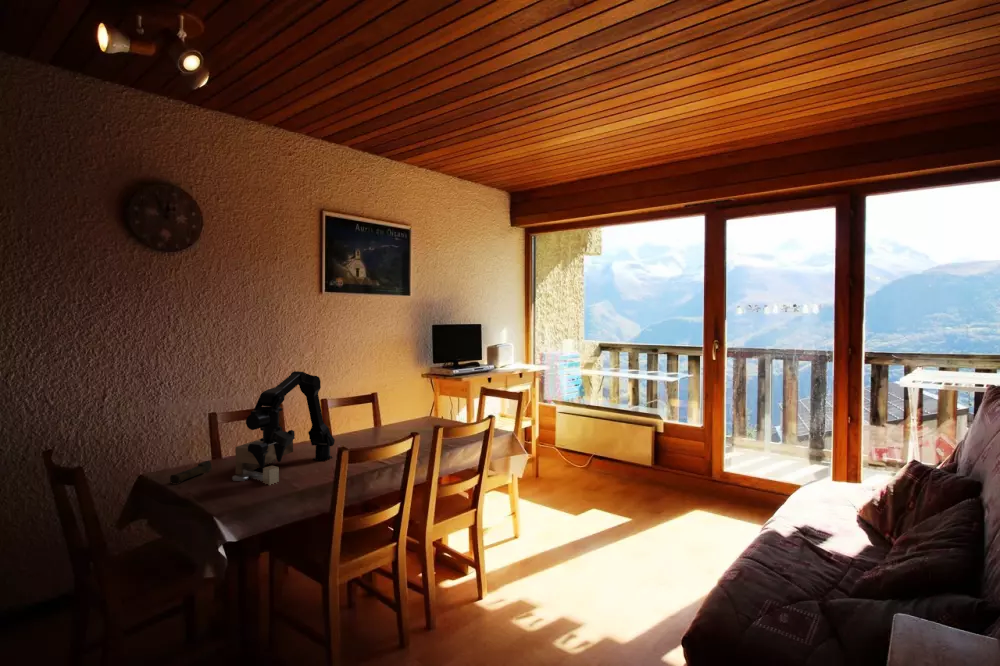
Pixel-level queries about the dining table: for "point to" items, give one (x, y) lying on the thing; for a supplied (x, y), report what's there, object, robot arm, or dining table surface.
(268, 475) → the blade tool
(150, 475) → the dining table surface
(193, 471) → the hand tool
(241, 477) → the steel token
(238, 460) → the beige stepped block
